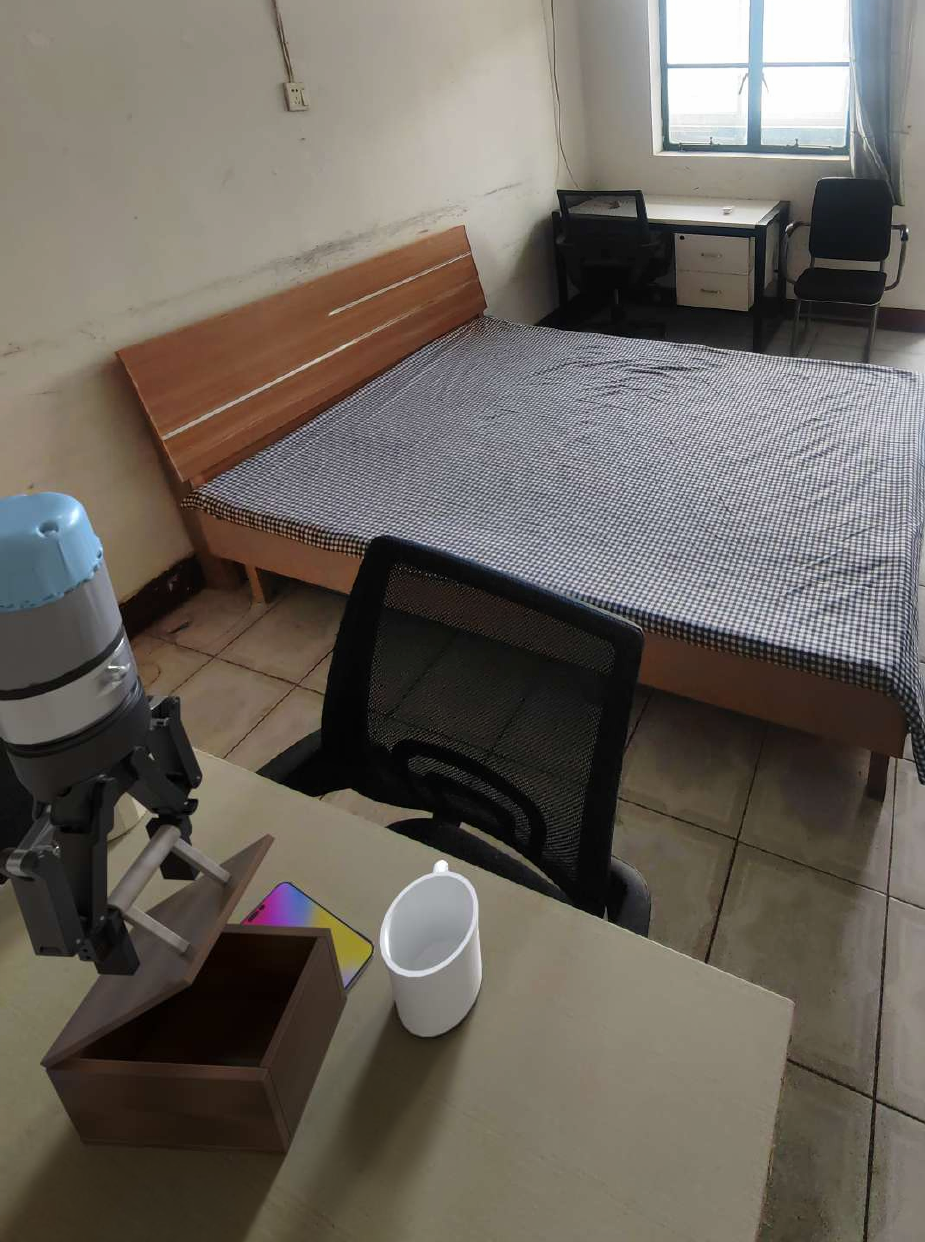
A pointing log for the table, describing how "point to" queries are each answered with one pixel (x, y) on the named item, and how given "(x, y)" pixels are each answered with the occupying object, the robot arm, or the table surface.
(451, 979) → the mug
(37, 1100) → the table surface
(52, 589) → the robot arm
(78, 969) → the table surface
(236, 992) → the wooden box
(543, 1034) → the table surface
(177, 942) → the lid
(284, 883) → the smartphone
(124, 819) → the bowl
